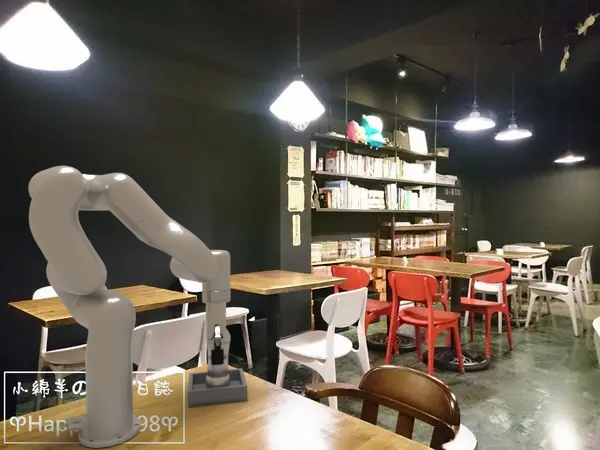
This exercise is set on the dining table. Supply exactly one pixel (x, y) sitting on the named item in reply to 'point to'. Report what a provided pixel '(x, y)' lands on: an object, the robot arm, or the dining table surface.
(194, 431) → the dining table surface
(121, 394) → the robot arm
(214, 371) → the plastic bottle
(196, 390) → the grey bin
